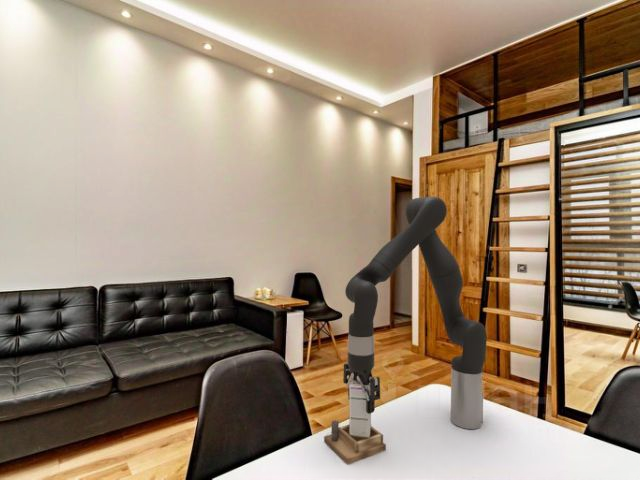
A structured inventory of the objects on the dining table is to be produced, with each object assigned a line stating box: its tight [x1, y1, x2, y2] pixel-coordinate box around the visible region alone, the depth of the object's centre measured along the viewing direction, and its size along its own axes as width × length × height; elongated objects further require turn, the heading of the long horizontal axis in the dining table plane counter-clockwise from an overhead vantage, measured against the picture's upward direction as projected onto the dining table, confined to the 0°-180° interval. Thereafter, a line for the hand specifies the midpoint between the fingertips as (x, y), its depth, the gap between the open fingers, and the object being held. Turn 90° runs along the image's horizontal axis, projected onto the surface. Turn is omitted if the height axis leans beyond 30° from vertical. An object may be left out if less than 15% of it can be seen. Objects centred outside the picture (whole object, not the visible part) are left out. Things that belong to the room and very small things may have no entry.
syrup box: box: [348, 380, 372, 438], centre depth 103 cm, size 6×6×14 cm
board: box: [323, 419, 387, 465], centre depth 103 cm, size 13×12×6 cm
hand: (360, 406), depth 103 cm, fingers open, 8 cm apart
